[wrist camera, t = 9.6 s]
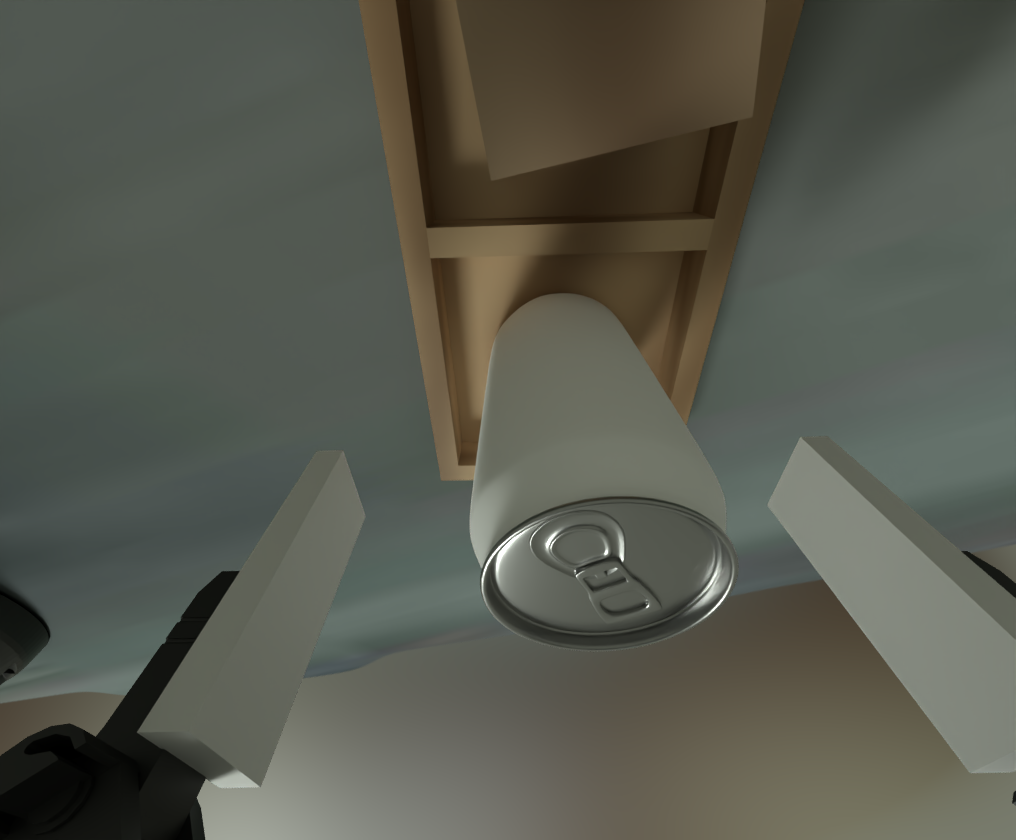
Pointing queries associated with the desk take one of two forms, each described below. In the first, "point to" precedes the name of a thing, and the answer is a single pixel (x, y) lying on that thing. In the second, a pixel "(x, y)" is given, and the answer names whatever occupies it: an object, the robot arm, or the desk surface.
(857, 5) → the desk surface
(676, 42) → the walnut block
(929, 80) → the desk surface
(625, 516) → the can
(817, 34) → the desk surface
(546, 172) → the caddy
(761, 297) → the desk surface
